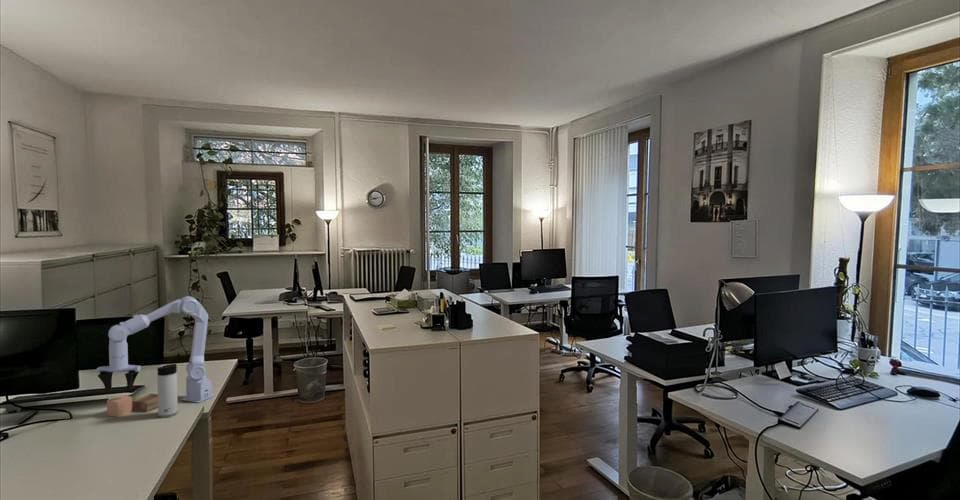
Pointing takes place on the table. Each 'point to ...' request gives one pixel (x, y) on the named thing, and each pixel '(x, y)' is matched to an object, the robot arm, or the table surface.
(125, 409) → the terracotta block
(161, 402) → the travel mug
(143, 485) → the table surface
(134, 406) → the walnut block
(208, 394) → the robot arm
